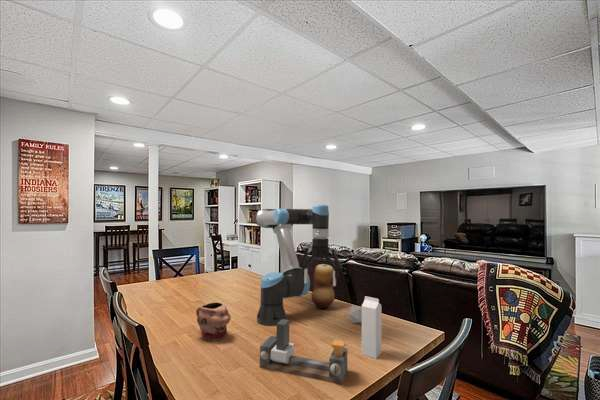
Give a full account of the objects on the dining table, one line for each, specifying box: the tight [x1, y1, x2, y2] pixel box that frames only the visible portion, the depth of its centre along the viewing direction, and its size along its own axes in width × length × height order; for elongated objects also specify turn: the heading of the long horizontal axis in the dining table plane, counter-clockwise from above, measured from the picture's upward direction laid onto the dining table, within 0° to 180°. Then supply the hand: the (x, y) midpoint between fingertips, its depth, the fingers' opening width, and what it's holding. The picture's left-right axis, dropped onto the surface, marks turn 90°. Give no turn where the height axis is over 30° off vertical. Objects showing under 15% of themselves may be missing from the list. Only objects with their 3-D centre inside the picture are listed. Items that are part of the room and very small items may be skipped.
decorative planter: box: [195, 302, 232, 341], centre depth 128 cm, size 20×12×14 cm, turn 65°
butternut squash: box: [310, 263, 335, 309], centre depth 169 cm, size 14×13×25 cm
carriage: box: [271, 319, 295, 364], centre depth 105 cm, size 6×8×13 cm
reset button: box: [331, 339, 347, 356], centre depth 98 cm, size 4×4×4 cm
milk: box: [361, 295, 383, 360], centre depth 114 cm, size 6×6×22 cm
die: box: [348, 305, 362, 324], centre depth 146 cm, size 8×9×10 cm
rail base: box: [259, 335, 348, 385], centre depth 102 cm, size 30×10×8 cm, turn 71°
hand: (320, 284), depth 131 cm, fingers open, 13 cm apart
